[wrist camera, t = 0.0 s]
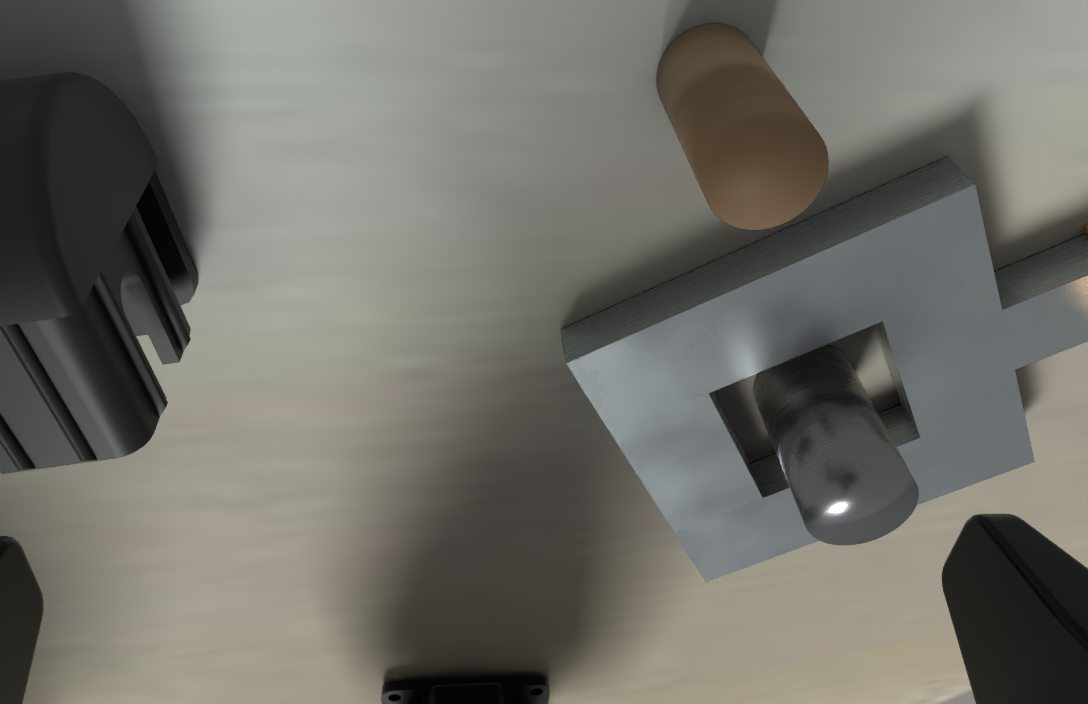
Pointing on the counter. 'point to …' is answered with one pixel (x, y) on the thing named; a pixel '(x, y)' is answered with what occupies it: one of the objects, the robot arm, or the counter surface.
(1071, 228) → the counter surface
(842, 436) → the post
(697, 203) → the counter surface
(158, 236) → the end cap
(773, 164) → the dowel
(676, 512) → the flange plate
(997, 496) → the counter surface
